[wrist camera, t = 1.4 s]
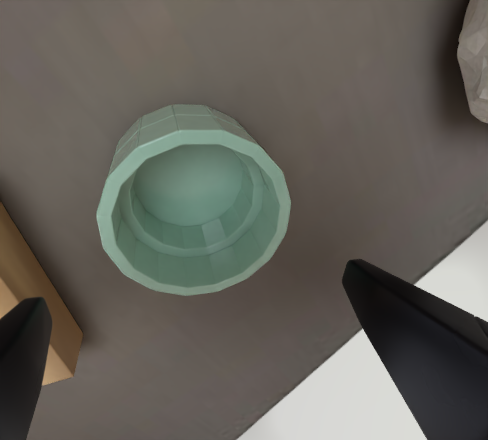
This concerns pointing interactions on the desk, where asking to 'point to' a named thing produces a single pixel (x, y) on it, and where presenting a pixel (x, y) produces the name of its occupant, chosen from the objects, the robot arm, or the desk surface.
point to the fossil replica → (475, 57)
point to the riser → (36, 285)
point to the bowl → (191, 202)
